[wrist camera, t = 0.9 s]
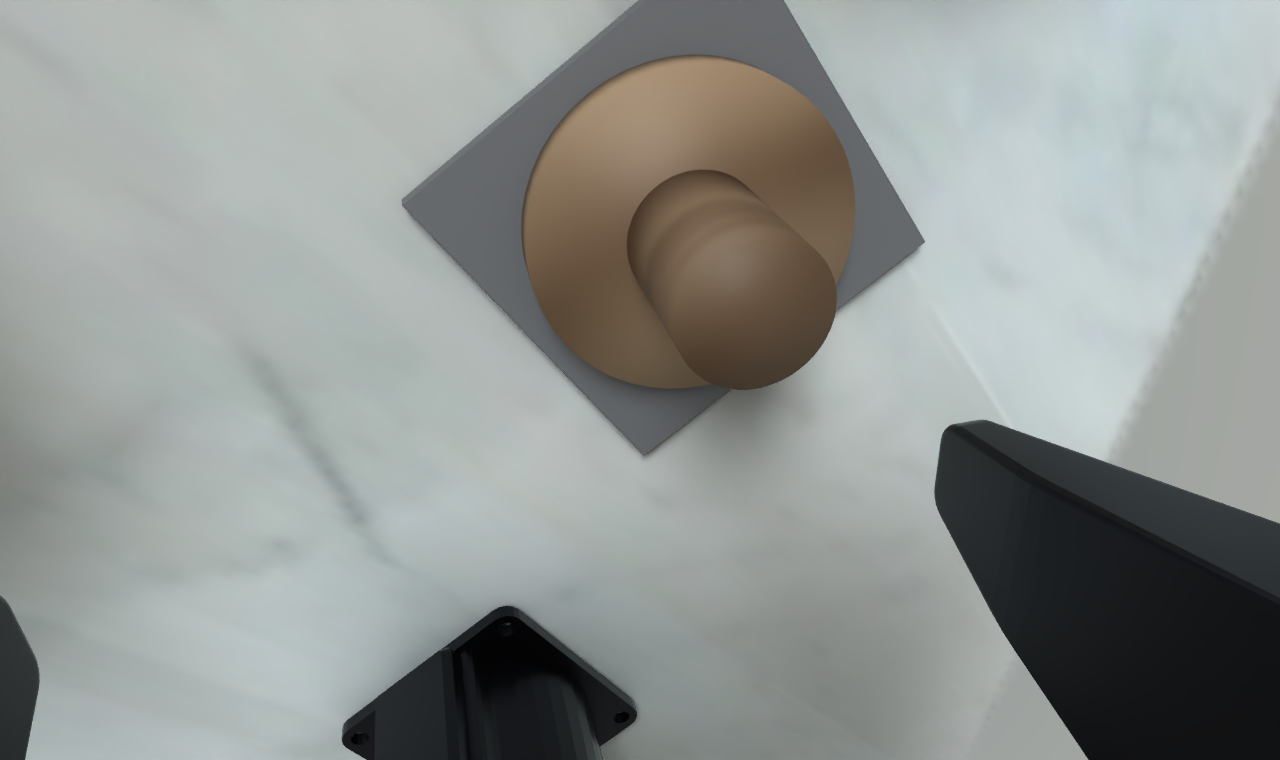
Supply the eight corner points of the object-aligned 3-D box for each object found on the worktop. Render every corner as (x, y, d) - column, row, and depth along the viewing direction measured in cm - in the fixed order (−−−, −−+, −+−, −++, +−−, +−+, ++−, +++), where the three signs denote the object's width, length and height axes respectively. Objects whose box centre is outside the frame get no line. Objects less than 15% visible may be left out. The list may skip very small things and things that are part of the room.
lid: (890, 239, 23) (1003, 325, 19) (649, 422, 24) (705, 544, 20) (728, -24, 19) (825, 10, 15) (449, 208, 20) (465, 302, 16)
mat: (917, 236, 24) (925, 241, 23) (640, 447, 25) (643, 455, 24) (732, -78, 19) (737, -78, 19) (401, 199, 20) (401, 205, 20)
